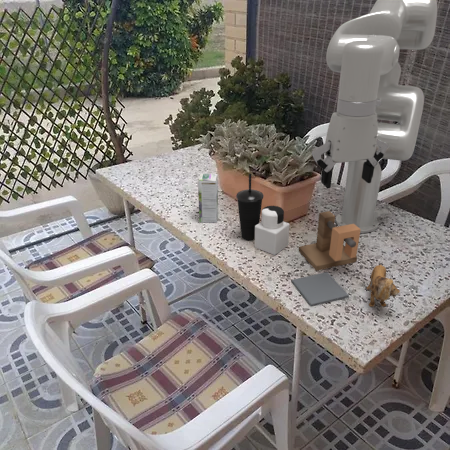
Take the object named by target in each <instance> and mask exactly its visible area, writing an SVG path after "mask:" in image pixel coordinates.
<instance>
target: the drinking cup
mask: <svg viewBox="0 0 450 450" xmlns="http://www.w3.org/2000/svg"><path fill="white" fill-rule="evenodd" d="M235 198H236V199H237V206H238V207H237V208H238V218H239V228H240V237H241V239H242V240H244V241H247V242H250V241H251V242H252V241H255V226H256V225H257V224H259V223H260V222H261V221H260V219H261V214H262V205H263V199H264V194H263V192H261V191H260V190H257V189H252V173H248V189H244V190H243V189H242V190H240V191H238V192H236V196H235Z"/></svg>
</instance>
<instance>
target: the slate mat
mask: <svg viewBox="0 0 450 450" xmlns="http://www.w3.org/2000/svg"><path fill="white" fill-rule="evenodd" d="M291 283H292V284H293V286H295V288H296V289H297V291H298V293H300V295H301V297H303V299H304V300H305V301H306V302H307V303H308V305H309V306H310V307H315V306H318V305H319V306H320V305H323V304H326V303H331V302H335V301H340V300H343V299H347V298H349V297H350V294H348V292H347V291H346V290H345V289H344V288H343V287H342V286H341V285H340V284H339V283H338V282H337V281H336V280H335V279H334V278H333V277H332V275H331V274H330V273H329V272H328V271H324V272H320V273H316V274H311V275H306V276H303V277H299V278H298V277H297V278H295V279H291Z"/></svg>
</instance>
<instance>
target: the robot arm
mask: <svg viewBox="0 0 450 450" xmlns="http://www.w3.org/2000/svg"><path fill="white" fill-rule="evenodd" d="M437 3H438V2H437V0H376V1H375V3H374V4H373V6H372V8H371V10H370V11H369V13H367V14H362V15H361V16H359V17H355V18H353V19H351V20H348V21H345V22H344V23H342V24H341V25H339V27H338V28H337V29H336V30H335V32H334V33H333V35H332V37H331V39H330V40H329V43H328V46H327V50H326V57H325V58H326V65H327V67H328V69H329V70H331V72H335V73H340V78H339V87H338V97H337V105H336V111H335V112H332V115H331V116H330V117H331V118H330V120H329V123H328V127H327V131H326V136H325V142H324V143H323V144H322V145H320V146H319V147H317V148H315V149H314V150H312V151H311V155H312V158H313V159H314V161H315V163H316V164H317V165H318V166H319V167H320V168H321V174H320V175H321V176H320V182H321V184H322V185H323V187H325V188H326V189H330V188H331V187H332V179H333V172H332V169H333V168H334V166H335V165H337V164H340V163H341V164H343V163H348V164H347V173H346V177H345V178H346V179H345V187H344V188H345V189H344V195H343V203H342V209H341V210H342V211H341V212H340V213H338V214H336V216H335V223H336V226H337V227H339V226H344V225H349V224H355V225H356V226H357V227H358V228H360V229H361V231H360V234H367V233H372V232H373V231H375V230H377V229H378V226H379V220H378V218H379V217H382V216H387V215H388V213H389V211H388V209H387V208H383V209H380V208H379V206H377V204H378V203H377V202H378V197H379V191H380V186H381V179H382V175H383V174H382V168H381V165H380V163H379V161H380V160H381V159H384V160H390V161H391V160H392V161H407V160H410V158H411V157H412V156H413V154H414V150H415V148H416V143H417V139H418V134H419V131H420V130H419V129H420V125H421V120H422V116H423V115H422V114H423V111H424V106H425V105H424V104H425V103H424V102H425V94H424V92H423V90H422V89H421V88H420V87H418V86H415V85H413V86H412V85H405V84H404V85H403V84H402V85H401V84H399V83H400V78H401V74H402V68H401V65H400V62H399V57H400V50H413V51H414V50H415V51H416V50H417V51H418V50H424V49H427V48H429V46H430V44H431V43H432V42H433V40H434V36H435V33H436V27H437V17H438V4H437ZM378 120H381V121H388V122H380V121H378ZM389 121H390V122H399V123H400V124H399V123H389ZM322 155H324V156H326V157H325V158H324V159H322Z"/></svg>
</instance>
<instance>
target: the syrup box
mask: <svg viewBox="0 0 450 450" xmlns="http://www.w3.org/2000/svg"><path fill="white" fill-rule="evenodd" d="M218 175H219V174H217V173H209V172H208V173H199V176H198V181H197V189H198V190H197V191H198V196H197V197H198V198H197V199H198V218H199V219H198V220H199V221H198V222H199V223H205V224H206V223H218V217H219V188H218V187H219V183H218V178H219V177H218Z"/></svg>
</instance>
